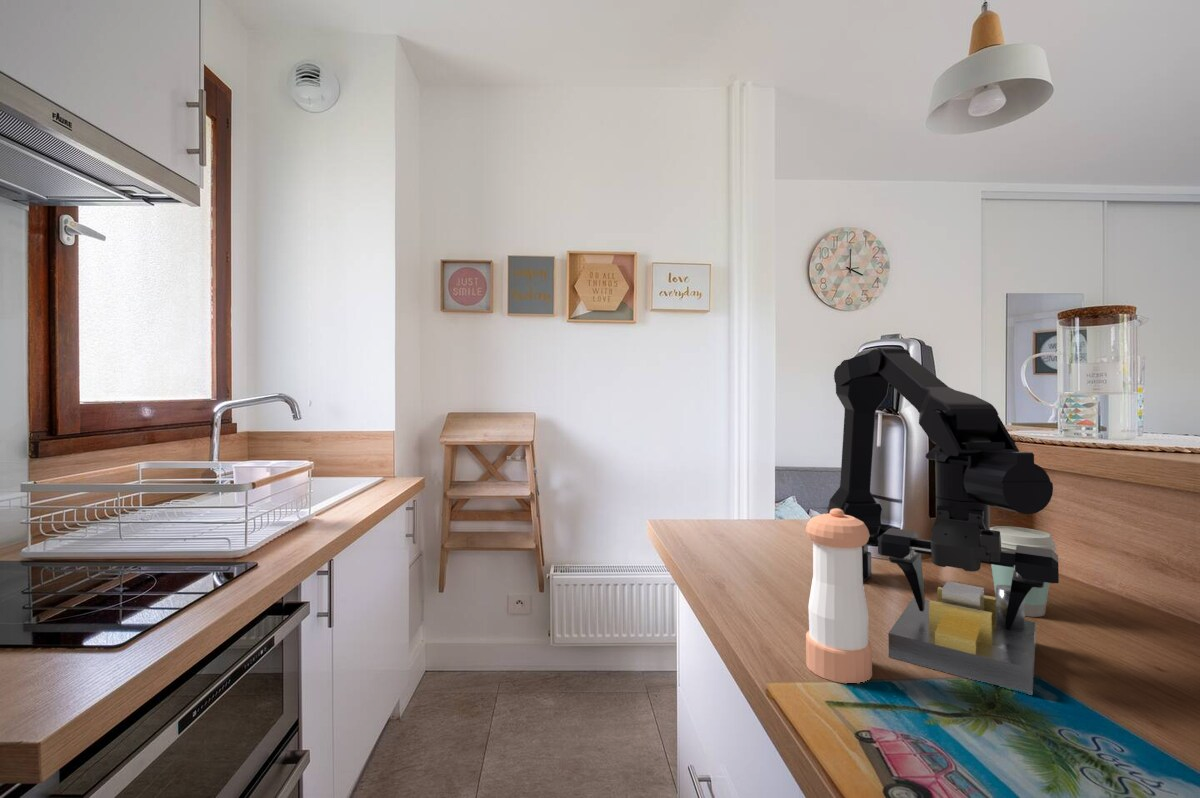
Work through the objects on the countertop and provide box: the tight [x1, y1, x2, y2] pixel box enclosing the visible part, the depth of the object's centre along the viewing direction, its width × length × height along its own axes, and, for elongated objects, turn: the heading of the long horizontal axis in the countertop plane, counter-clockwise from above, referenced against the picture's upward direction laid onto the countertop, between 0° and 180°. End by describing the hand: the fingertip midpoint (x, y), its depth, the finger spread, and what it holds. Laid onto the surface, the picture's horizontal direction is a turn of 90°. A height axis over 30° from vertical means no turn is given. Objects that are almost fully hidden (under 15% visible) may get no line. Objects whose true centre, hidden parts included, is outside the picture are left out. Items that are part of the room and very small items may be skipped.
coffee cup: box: [990, 525, 1057, 618], centre depth 82 cm, size 8×9×12 cm
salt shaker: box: [805, 508, 873, 684], centre depth 64 cm, size 7×7×19 cm
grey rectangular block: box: [942, 580, 985, 611], centre depth 68 cm, size 4×4×8 cm
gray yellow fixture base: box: [887, 585, 1036, 696], centre depth 68 cm, size 14×16×8 cm
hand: (963, 619), depth 68 cm, fingers open, 9 cm apart
